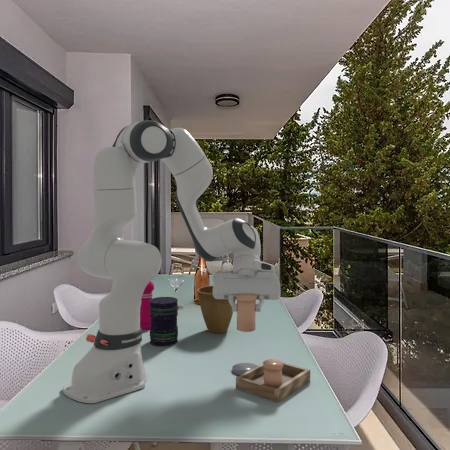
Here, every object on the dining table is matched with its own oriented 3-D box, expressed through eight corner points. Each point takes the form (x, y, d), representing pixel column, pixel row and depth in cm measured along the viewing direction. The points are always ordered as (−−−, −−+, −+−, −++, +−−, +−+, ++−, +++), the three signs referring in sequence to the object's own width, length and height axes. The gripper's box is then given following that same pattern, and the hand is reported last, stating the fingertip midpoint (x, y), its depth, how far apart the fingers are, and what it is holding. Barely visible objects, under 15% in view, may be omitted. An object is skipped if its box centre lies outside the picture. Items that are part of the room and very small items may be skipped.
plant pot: (211, 323, 179) (211, 283, 178) (243, 328, 172) (243, 287, 171) (189, 332, 167) (189, 290, 166) (223, 339, 159) (223, 294, 158)
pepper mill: (152, 330, 169) (151, 278, 168) (134, 329, 170) (133, 277, 169) (158, 325, 176) (158, 275, 175) (141, 324, 177) (141, 274, 176)
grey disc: (249, 378, 125) (249, 375, 125) (226, 371, 130) (226, 368, 129) (264, 369, 131) (264, 367, 131) (242, 363, 136) (242, 360, 136)
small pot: (276, 395, 112) (276, 368, 112) (258, 390, 115) (259, 363, 115) (286, 388, 116) (286, 362, 116) (269, 383, 119) (269, 358, 119)
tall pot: (248, 333, 125) (248, 298, 125) (231, 329, 129) (231, 295, 128) (260, 328, 130) (260, 294, 129) (243, 324, 134) (244, 292, 133)
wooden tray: (277, 402, 110) (277, 390, 110) (235, 388, 118) (235, 377, 118) (310, 380, 123) (310, 369, 123) (270, 369, 131) (270, 359, 131)
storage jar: (158, 336, 162) (158, 295, 161) (182, 339, 159) (182, 298, 158) (144, 344, 153) (143, 301, 152) (169, 348, 149) (169, 304, 148)
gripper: (212, 265, 136) (209, 304, 127) (279, 265, 135) (281, 305, 125) (213, 276, 141) (211, 315, 131) (278, 277, 139) (280, 316, 130)
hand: (246, 310), depth 128 cm, fingers closed on tall pot, 5 cm apart
